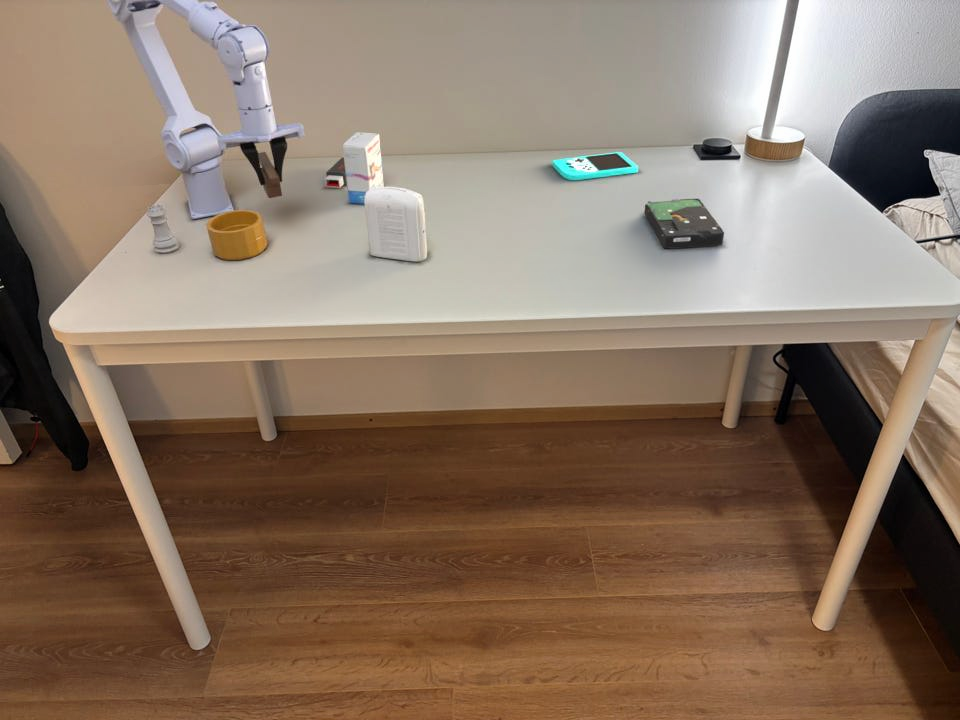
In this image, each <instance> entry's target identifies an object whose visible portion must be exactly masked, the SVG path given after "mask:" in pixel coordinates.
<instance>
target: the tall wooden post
mask: <svg viewBox="0 0 960 720" xmlns="http://www.w3.org/2000/svg"><path fill="white" fill-rule="evenodd" d="M258 156H259V162H260V167H261V171H262V174H263V178H264V183H265V185H262V187H263V190H264V192H265V194H266V197H267V198H268V199H273V198H279V197H283V191H282V187H281V182H280V179H279V176H278V173H277V171H276V170H275V167H274V164H272V161H271V159H270V158H269V156H268V153H266V151H261V152H258Z"/></svg>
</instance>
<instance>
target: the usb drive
mask: <svg viewBox="0 0 960 720" xmlns="http://www.w3.org/2000/svg"><path fill="white" fill-rule="evenodd" d="M325 176H326V177H325V178H324V187H325V188H335V189H336V188H337V189H341V188H342V187H343V186H347V179H346V172H345V164H344V157H341V158H339V159H338V161H336V162H335V163H334V164H333V165H332V166H331V167H330V168H329V169H328V170H327V171H326V172H325Z"/></svg>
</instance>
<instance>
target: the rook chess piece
mask: <svg viewBox="0 0 960 720" xmlns="http://www.w3.org/2000/svg"><path fill="white" fill-rule="evenodd" d="M166 213H167V210H166V209H165V208H164V206H163V205H162V204H161V205H160V204H156V206H155V205H154V204H153V205H151V206H148V207H147V212H146V216H147V217H148V218H149V219H150V224H152V228H153V241H152V245H153V247H154V248H153V250H154V251H155V252H156V253H157V254H161V255H166V254H172V253H174V252H176V251H177V250H179V248H180V246H181V245H180V242H179V239H178V237H177V236H176V235H175V234H174V233H173V232H172V230H171V229H170V227H169V224H168V218H167V217H166Z"/></svg>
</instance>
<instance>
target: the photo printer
mask: <svg viewBox="0 0 960 720" xmlns="http://www.w3.org/2000/svg"><path fill="white" fill-rule="evenodd" d="M363 205H364V213H365V219H366V220H365V222H366V229H367V238H368V246H369V254H370V255H371V256H373V257H378V258H384V259H393V260H399V261H404V262H405V261H406V262H407V261H408V262H415V263H416V262H417V263H418V262H423V261H425V260H426V259H427V258H428V245H427V230H426V229H427V228H426V218H425V217H426V215H425V203H424V198H423V195H421V194H420V193H418V192H416V191H413V190H411V189H408V188H404V187H398V186H384V187H376V188H372V189H369V191H367V192H366V194H365V201H364V204H363Z"/></svg>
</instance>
